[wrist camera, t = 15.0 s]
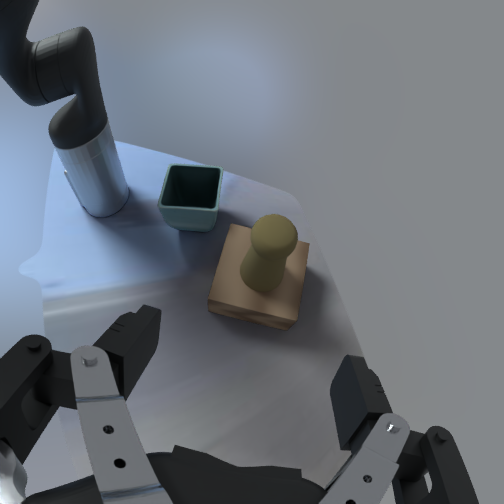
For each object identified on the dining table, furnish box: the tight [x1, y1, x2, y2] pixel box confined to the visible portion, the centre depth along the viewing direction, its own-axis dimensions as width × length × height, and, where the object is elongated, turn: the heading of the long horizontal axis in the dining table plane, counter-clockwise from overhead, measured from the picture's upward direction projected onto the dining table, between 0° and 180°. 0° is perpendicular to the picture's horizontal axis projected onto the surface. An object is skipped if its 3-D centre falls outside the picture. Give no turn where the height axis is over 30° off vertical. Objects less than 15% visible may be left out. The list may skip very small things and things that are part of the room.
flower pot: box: [158, 164, 223, 232], centre depth 47 cm, size 9×9×9 cm
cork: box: [240, 214, 298, 292], centre depth 36 cm, size 6×6×11 cm
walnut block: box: [208, 223, 309, 331], centre depth 44 cm, size 12×12×6 cm
